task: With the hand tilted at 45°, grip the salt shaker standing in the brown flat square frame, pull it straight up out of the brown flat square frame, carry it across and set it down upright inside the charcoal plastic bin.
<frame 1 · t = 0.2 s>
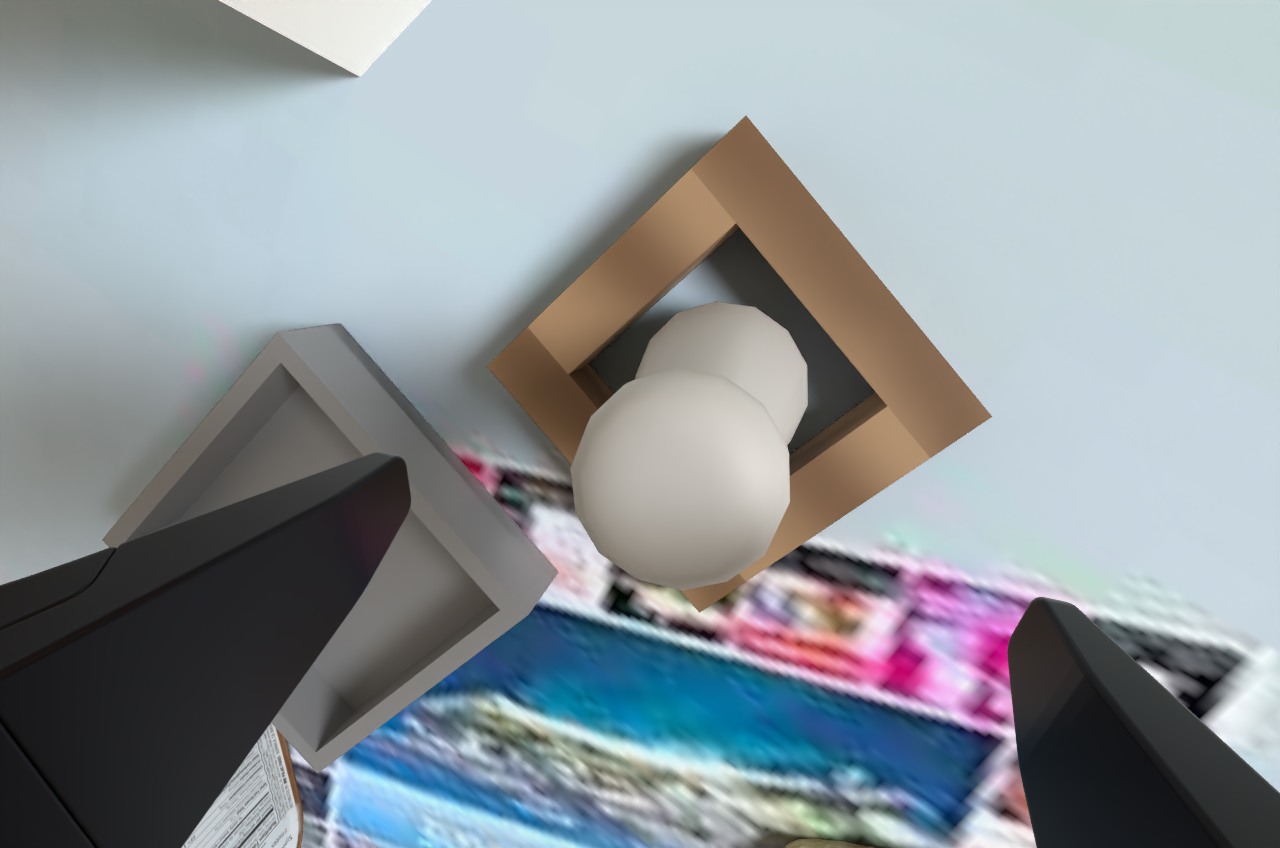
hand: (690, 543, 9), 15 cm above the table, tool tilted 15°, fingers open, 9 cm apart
bin: (354, 539, 29), on the table
tin: (277, 739, 34), on the table
salt shaker: (726, 375, 24), resting in brown flat square frame
brown flat square frame: (726, 376, 24), on the table
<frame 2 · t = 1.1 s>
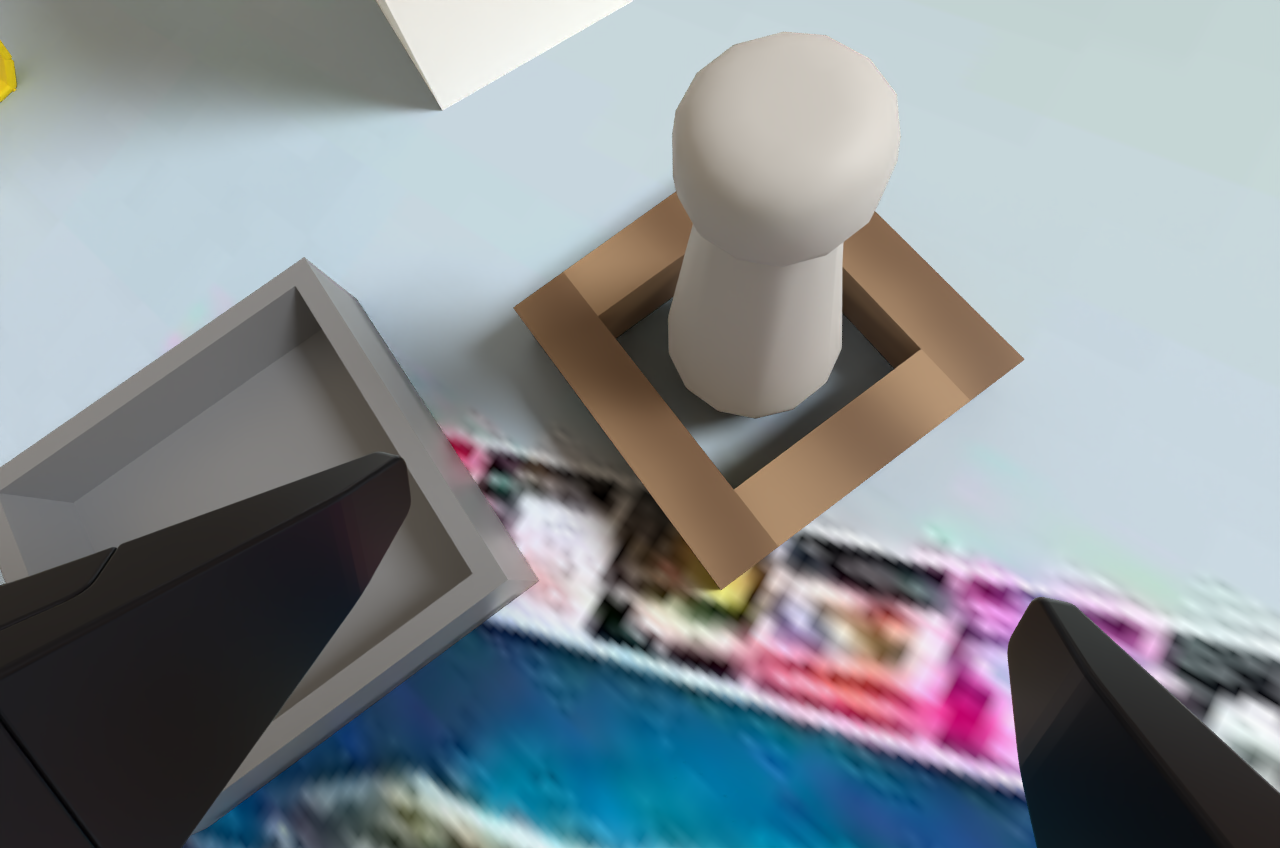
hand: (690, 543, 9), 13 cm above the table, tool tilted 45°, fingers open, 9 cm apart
bin: (289, 538, 24), on the table
salt shaker: (749, 359, 24), resting in brown flat square frame
brown flat square frame: (749, 357, 24), on the table
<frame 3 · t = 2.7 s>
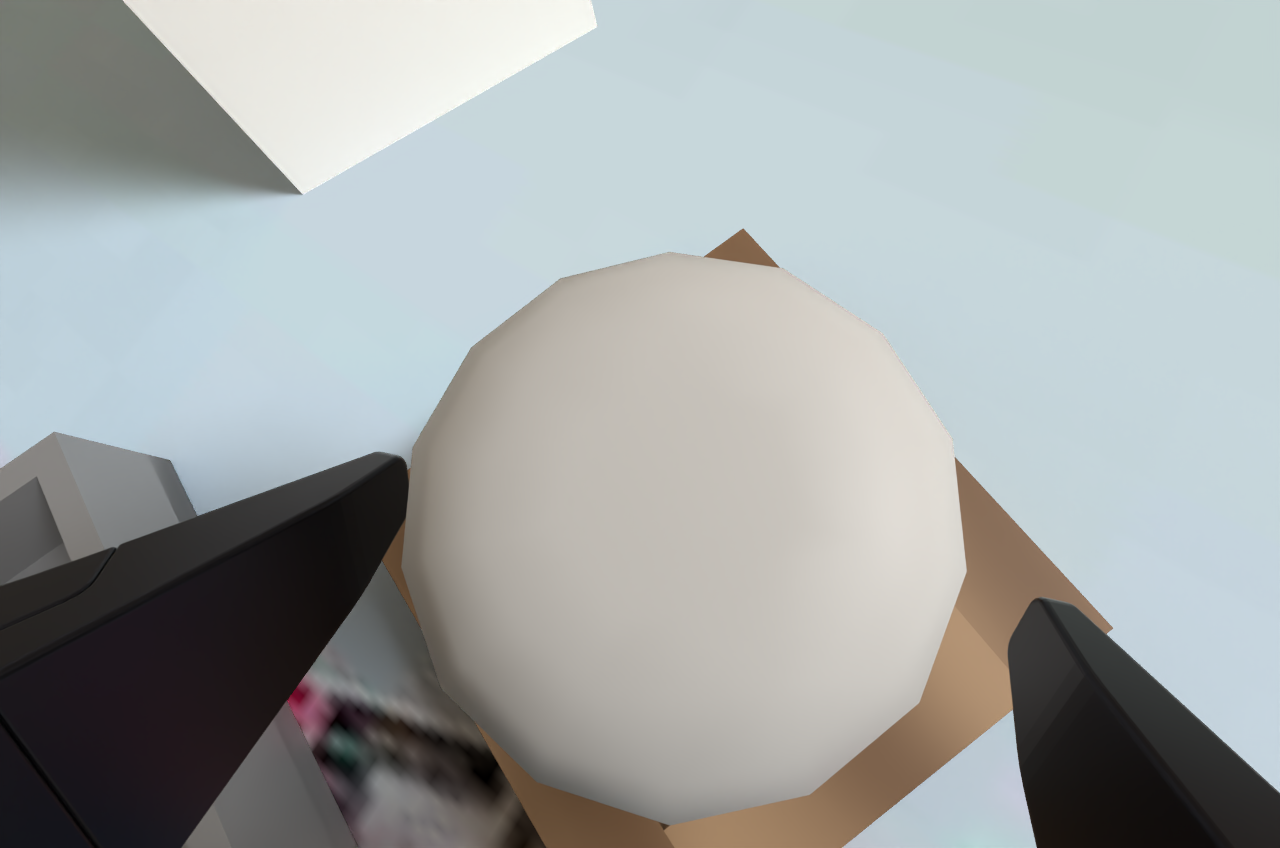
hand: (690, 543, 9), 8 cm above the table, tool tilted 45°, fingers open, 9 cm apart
milk: (385, 3, 23), on the table
bin: (45, 822, 17), on the table
salt shaker: (701, 568, 17), resting in brown flat square frame
brown flat square frame: (701, 567, 17), on the table
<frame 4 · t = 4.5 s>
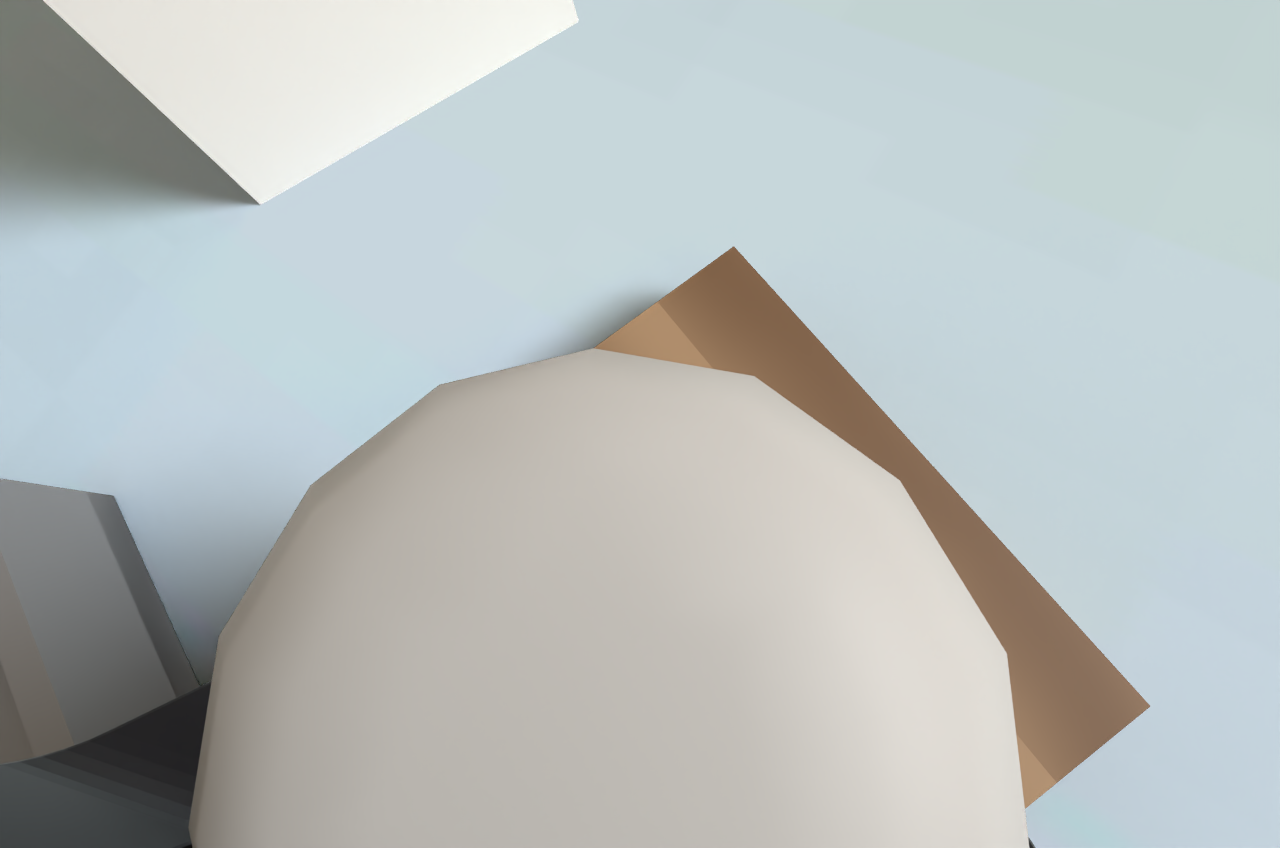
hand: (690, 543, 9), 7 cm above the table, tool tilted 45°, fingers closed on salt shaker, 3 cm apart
salt shaker: (688, 619, 15), resting in brown flat square frame, touching gripper
brown flat square frame: (688, 620, 15), on the table
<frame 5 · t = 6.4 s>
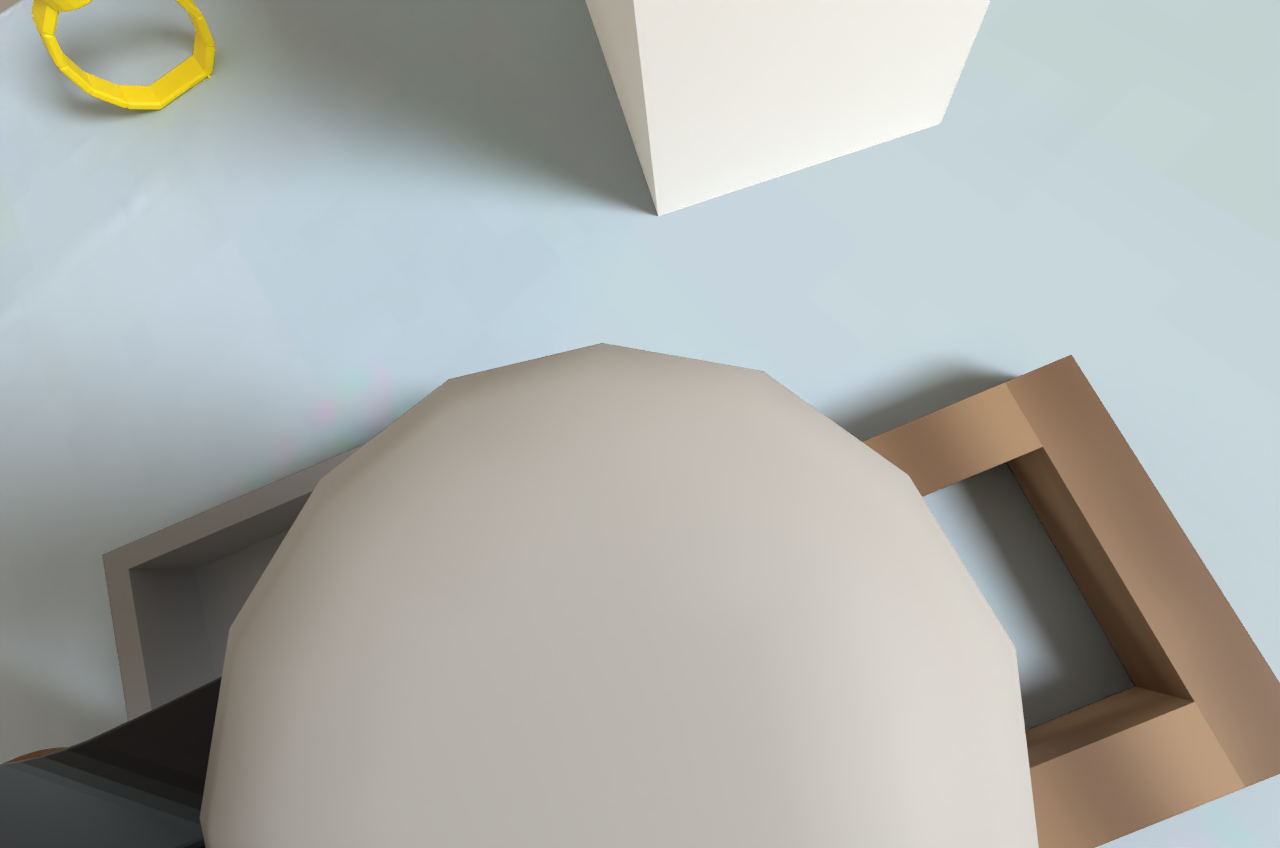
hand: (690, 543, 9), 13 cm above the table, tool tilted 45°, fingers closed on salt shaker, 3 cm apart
milk: (748, 56, 27), on the table
bin: (406, 670, 22), on the table
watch: (184, 86, 30), on the table
salt shaker: (691, 617, 15), point 6 cm above the table, touching gripper
brown flat square frame: (957, 613, 20), on the table
when the fingers open (9 cm above the table, at t = 8.8 s): salt shaker drops 1 cm, resting on bin.
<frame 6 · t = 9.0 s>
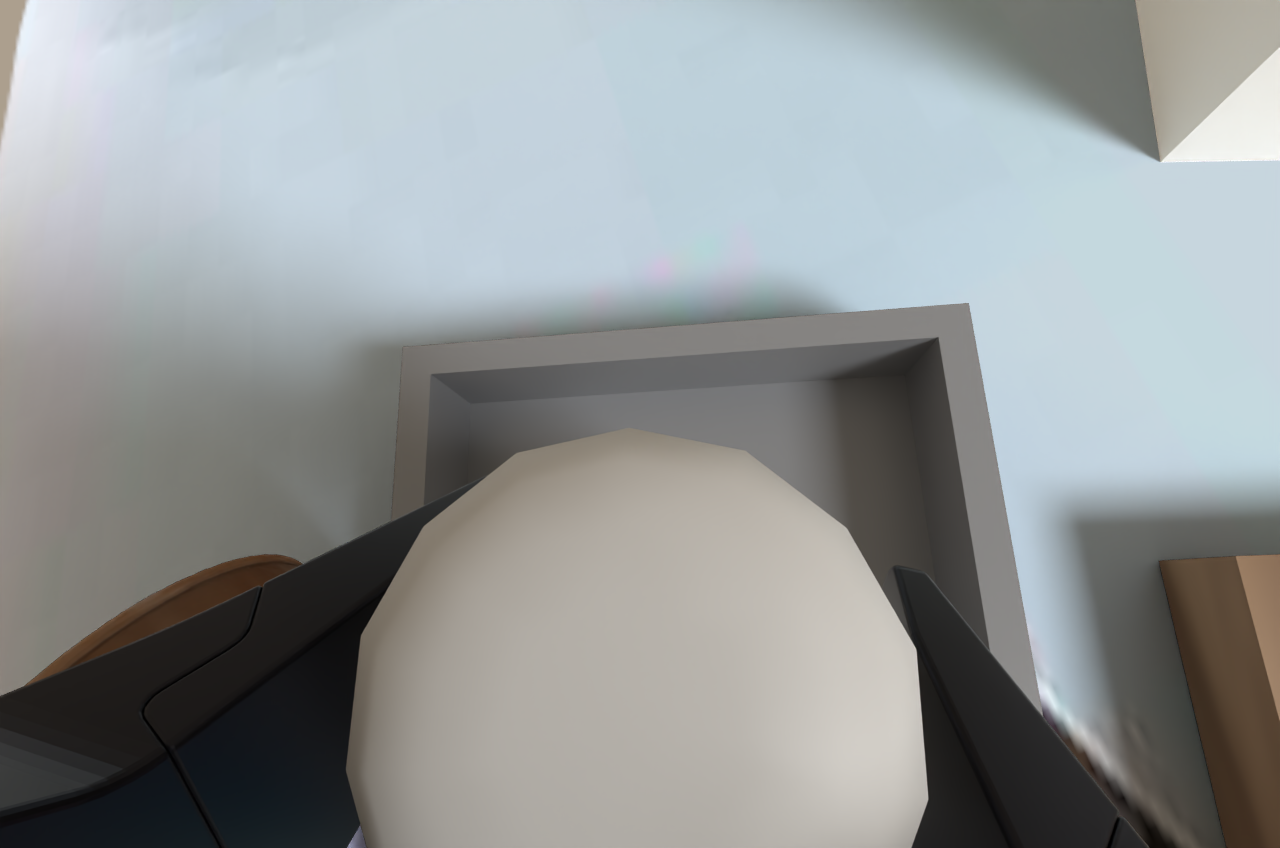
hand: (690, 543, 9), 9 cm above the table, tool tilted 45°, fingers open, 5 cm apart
bin: (692, 615, 17), on the table
tin: (235, 816, 18), on the table
salt shaker: (688, 624, 17), point 1 cm above the table, touching bin
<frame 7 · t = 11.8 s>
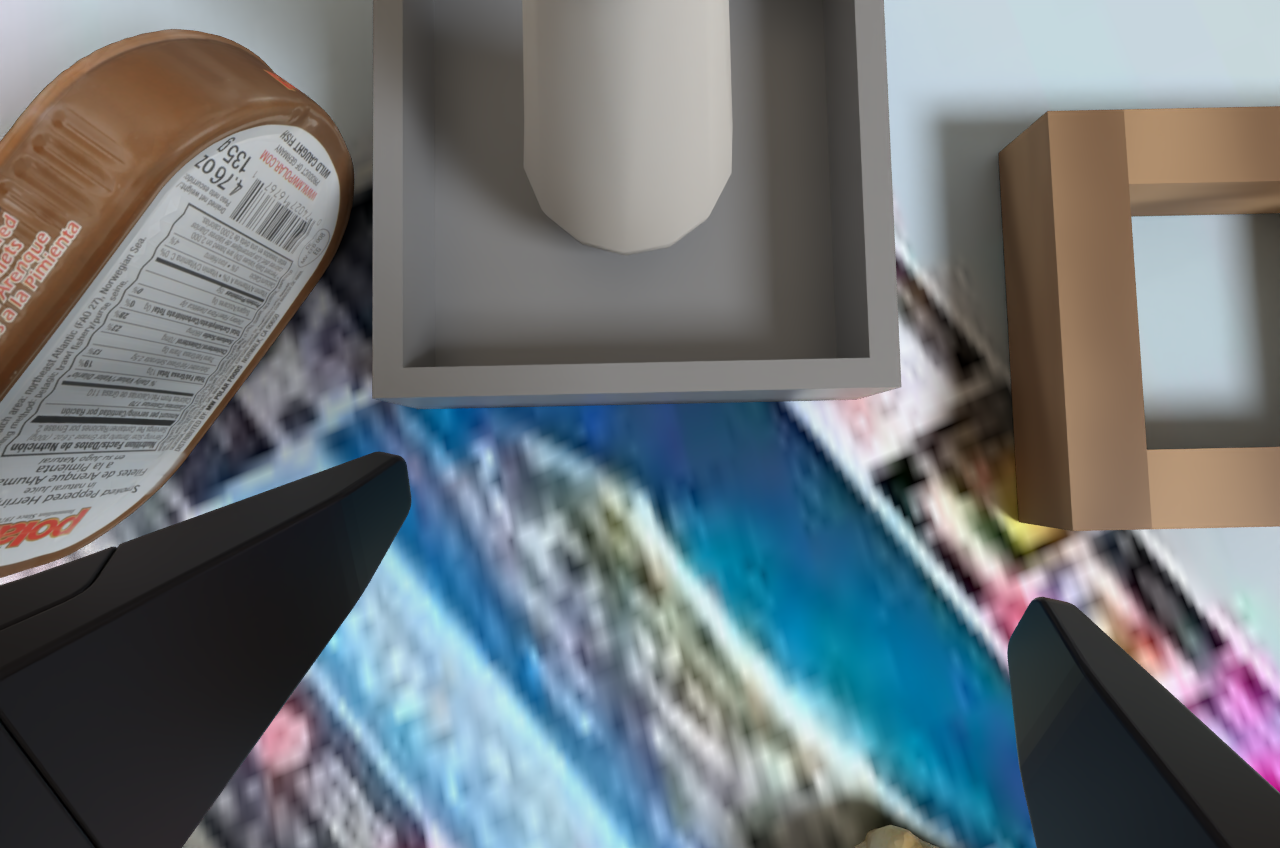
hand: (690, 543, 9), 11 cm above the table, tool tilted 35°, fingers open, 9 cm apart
bin: (632, 190, 21), on the table
tin: (237, 352, 21), on the table
salt shaker: (629, 188, 20), point 1 cm above the table, touching bin
brown flat square frame: (1194, 330, 20), on the table
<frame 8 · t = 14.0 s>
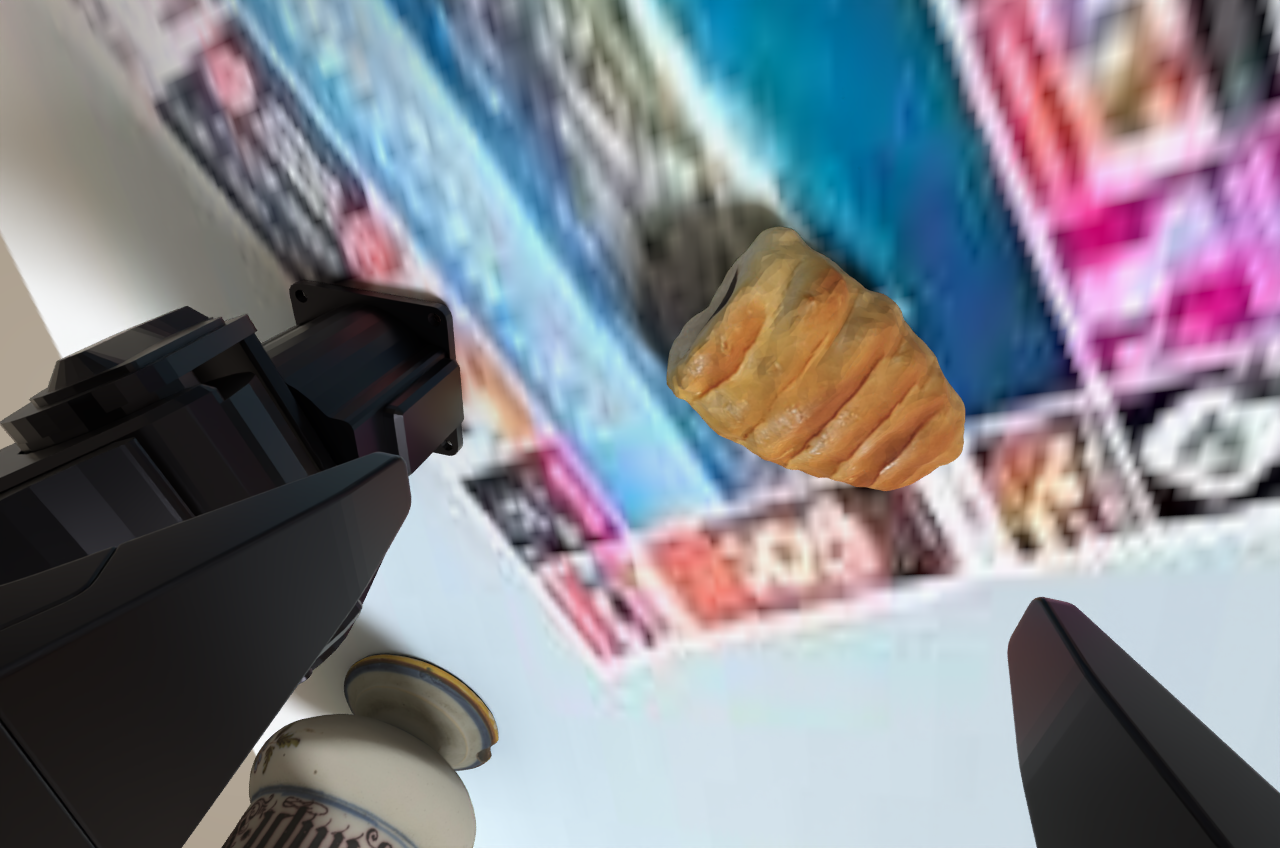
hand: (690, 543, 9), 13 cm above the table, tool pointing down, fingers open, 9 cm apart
apothecary jar: (424, 708, 38), on the table
pastry: (809, 349, 21), on the table
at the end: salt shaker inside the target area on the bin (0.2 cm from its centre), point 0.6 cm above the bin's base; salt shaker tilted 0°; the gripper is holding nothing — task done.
